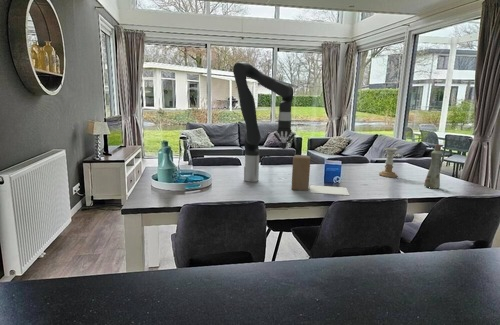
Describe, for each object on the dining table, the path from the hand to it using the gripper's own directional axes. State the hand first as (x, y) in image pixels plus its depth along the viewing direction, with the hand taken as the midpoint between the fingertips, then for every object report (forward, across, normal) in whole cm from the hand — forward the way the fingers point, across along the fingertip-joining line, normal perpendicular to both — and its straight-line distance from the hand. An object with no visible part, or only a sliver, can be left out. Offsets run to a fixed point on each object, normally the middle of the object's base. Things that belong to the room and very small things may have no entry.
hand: (283, 148), depth 194 cm
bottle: (+25, +94, +24) cm, 100 cm away
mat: (+24, +28, 0) cm, 37 cm away
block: (+24, +11, 0) cm, 27 cm away
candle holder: (+25, +74, +52) cm, 94 cm away
